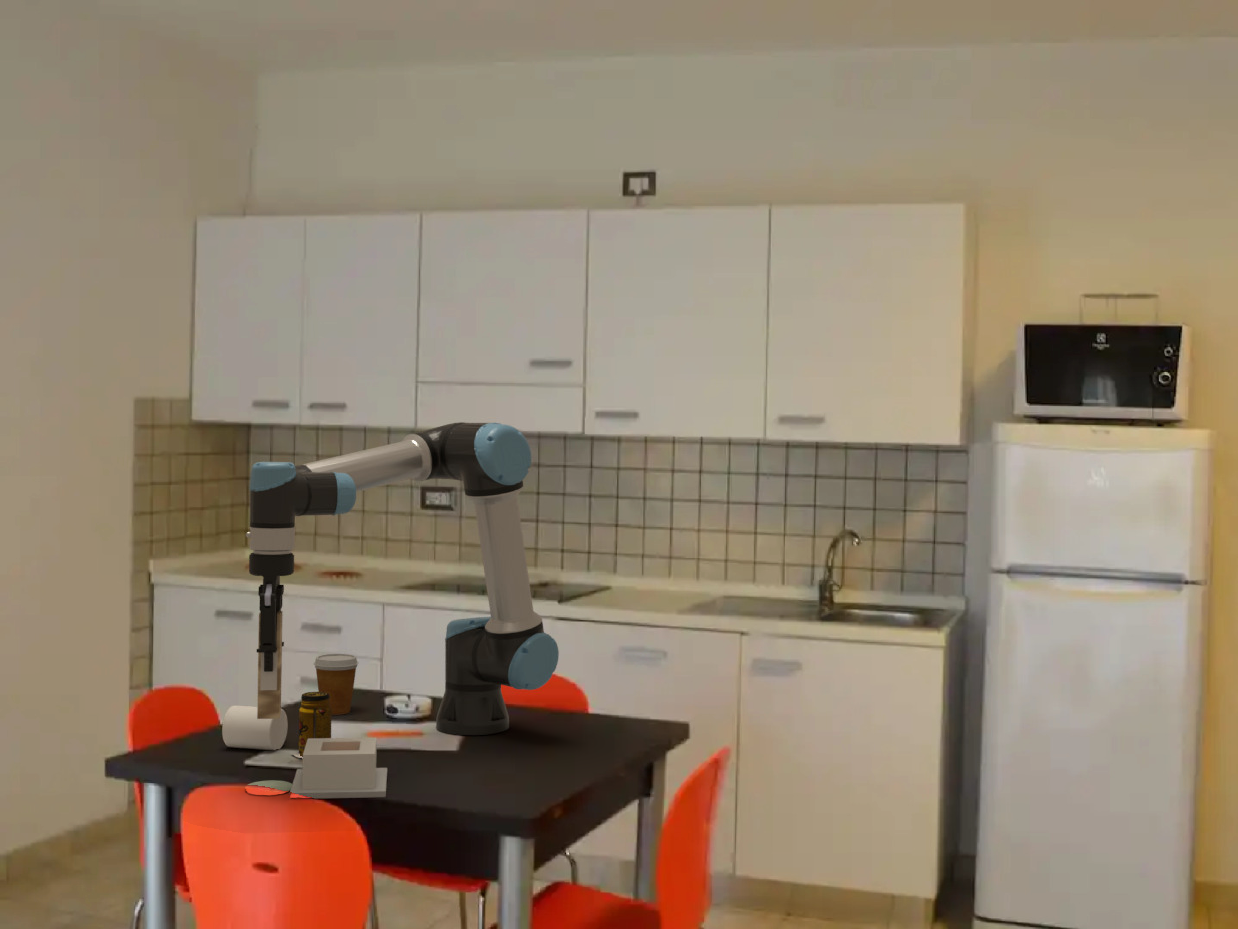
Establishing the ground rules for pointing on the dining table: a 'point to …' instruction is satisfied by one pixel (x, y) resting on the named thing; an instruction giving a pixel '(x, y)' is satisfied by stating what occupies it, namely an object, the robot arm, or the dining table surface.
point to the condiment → (314, 718)
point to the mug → (253, 729)
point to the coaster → (274, 784)
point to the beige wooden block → (272, 698)
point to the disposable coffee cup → (337, 680)
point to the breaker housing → (340, 769)
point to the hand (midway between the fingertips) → (269, 687)
